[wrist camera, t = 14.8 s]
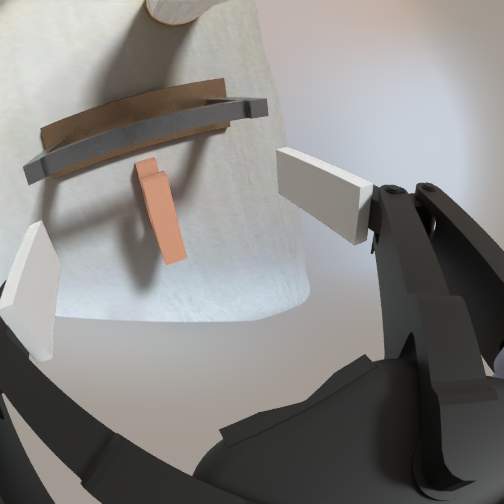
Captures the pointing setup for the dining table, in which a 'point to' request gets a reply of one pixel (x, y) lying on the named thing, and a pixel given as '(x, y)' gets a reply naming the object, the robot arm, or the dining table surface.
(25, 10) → the dining table surface
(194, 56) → the dining table surface
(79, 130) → the stand
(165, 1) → the cup
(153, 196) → the c link
